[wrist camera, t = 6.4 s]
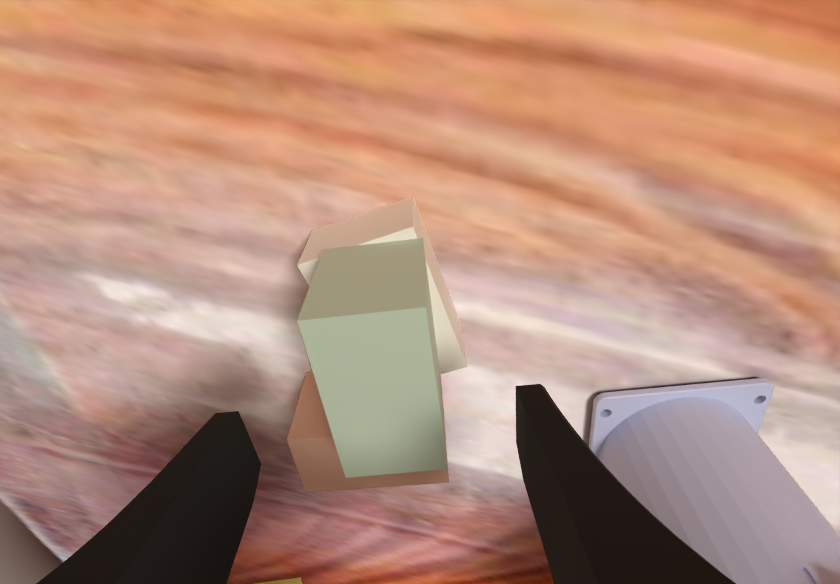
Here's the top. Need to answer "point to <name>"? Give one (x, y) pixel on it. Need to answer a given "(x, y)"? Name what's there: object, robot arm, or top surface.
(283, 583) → the toy
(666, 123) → the top surface
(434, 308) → the cream brick
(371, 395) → the green brick
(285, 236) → the top surface
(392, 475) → the terracotta brick
